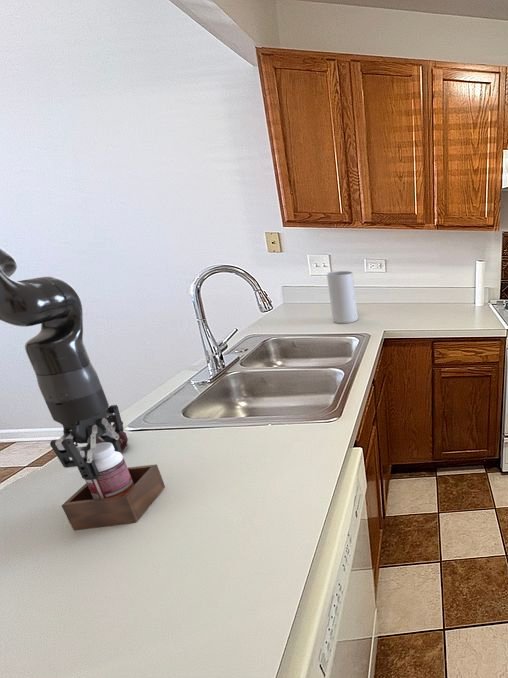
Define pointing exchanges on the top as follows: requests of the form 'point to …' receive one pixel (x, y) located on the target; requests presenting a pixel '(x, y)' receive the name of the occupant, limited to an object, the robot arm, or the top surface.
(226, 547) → the top surface
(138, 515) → the box
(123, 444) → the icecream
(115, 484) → the pill bottle
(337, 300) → the cylinder vase
